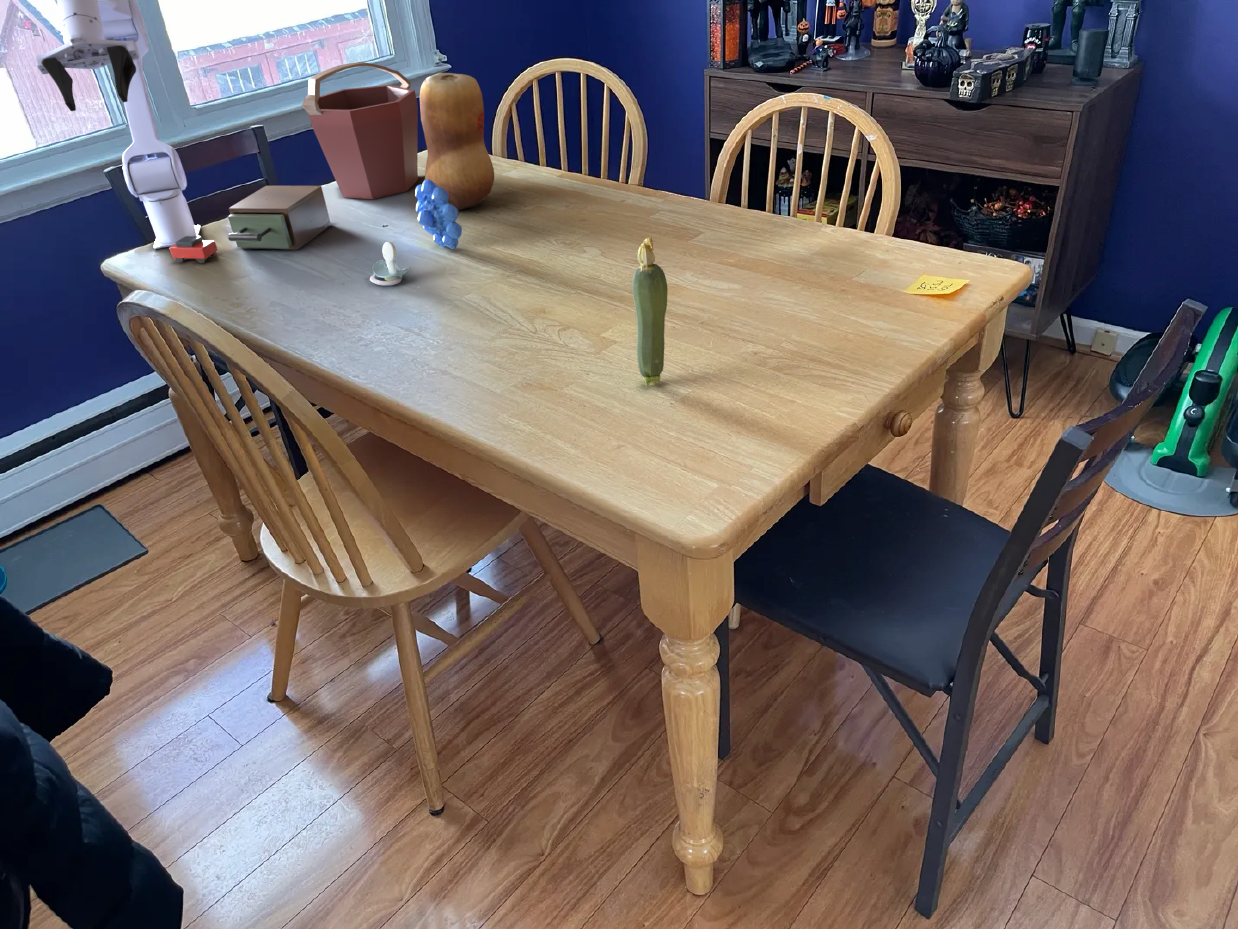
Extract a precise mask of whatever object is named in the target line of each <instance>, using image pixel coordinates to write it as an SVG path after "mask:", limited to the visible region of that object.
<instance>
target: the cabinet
mask: <svg viewBox="0 0 1238 929" xmlns="http://www.w3.org/2000/svg"><path fill="white" fill-rule="evenodd" d="M323 191H324V190H323V187H322V185H265V186H263V187H262V188H260V189H258V190H256V191H254V192H253V193H251V194H250V195H248V196H247V197H245V198H243V199H241V200H240V201H238V202H237V203H235V204H233V205H232V206H230V207H229V208H228V211H229V215H231V214H239V212H249V213H284V215H285V218H286V222H287V225H288V229H289V232H290V236H291V240H292V242H291V243H292V246H291V247H290V248H251V247H240V249H247V250H249V249H250V250H251V249H254V250H255V249H257V250H299V249H301V248H302V247H303V246H305V245H306V244H307V243H309V242H310V241H311V240H313V239H314V238H315V237H317V236H318V235H319V234H321V233H322V232H323V231H325V230H326V229H328V228H329V227H330V226H331V225H332V223H331V219H330V215H329V210H328V206H327V202H326V199H325V196H324V192H323Z"/></svg>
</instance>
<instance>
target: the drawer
mask: <svg viewBox="0 0 1238 929" xmlns="http://www.w3.org/2000/svg"><path fill="white" fill-rule="evenodd" d="M227 219H228V222H229V225H230V228H231V232H230V233H228V235H227V239H228V241H230V242H235V243H236V247H237V248H241V247H251V248H290V247H291V246H292V243H291V242H292V240H291V236H290V232H289V229H288V225H287V222H286V218H285V215H284V213H249V212H239V214H229V215H227Z"/></svg>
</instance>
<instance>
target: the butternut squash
mask: <svg viewBox="0 0 1238 929" xmlns="http://www.w3.org/2000/svg"><path fill="white" fill-rule="evenodd" d="M419 108H420V122H421V125H422V129H423V130H422V131H423V134H424V135H423V136H424V141H425V144H426V145H425V146H426V150H427V156H426V163H425V169H424V170H425V171H424V180H427V179H428V180H431V181H433V182H434V183H435V184H436V185H437V186H438V187H441V188H443V189H444V190H446V191H447V193H448V197H449V198H448V202H447V203H449V204H452V205H453V206H455V207H456V208H457V209H458V211H461V210H463V209H471V208H473V207H476V206H478V205H479V204H480V203H481V202H482V201H483V200H484V199H486V198H487V197H488V196H489V195H490V194H491V192H492V189H493V186H494V183H495V169H494V165H493V162H492V159H491V157H490V154H489V151H487V147H486V144H485V139H484V135H485V134H484V132H485V130H484V129H485V108H484V99H483V93H482V90H481V88H480V85H479V83H478V81H477V79H476V78H475V77H472V76H471V75H468V74H464V73H453V72H437V73H436V74H433V75H430V76H427V77H426V78H425V79H424V80H423V82H422V84H421V86H420V90H419Z"/></svg>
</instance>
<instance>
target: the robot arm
mask: <svg viewBox="0 0 1238 929" xmlns="http://www.w3.org/2000/svg"><path fill="white" fill-rule="evenodd" d="M54 2H55V4H56V6H57V8H58V9H57V10H58V14H59V19H60V25H61V30H62V35H63V42H64V44H62V45H60V46H58V47H56V48H53V49H52V50H50V51H47V52H45V53H42V54H38V55H35V56H34V58H35V64H36V67H37V69H38V71H40V73H41V74H42V75H49V76H50V77H51V79H52V80H53V82H54V83H55V85H56V86H57V89H58V91H59V92H60V94H61V96H62V98H63V102H64V104H65V105H66V107H67V108H68V110H69V111H70V112H76V111H77V107H76V102H75V98H74V93H73V85H74V84H73V83H74V79H73V78H72V76H71V74H70V73H69V72H68V71H67V69H76V70H77V69H78V70H97V69H101V68H103V67H105V66H108V65H111V68H112V71H113V77H114V84H115V89H116V94H117V95H118V97H119V98H120V100H121V101H122V103H123V106H124V109H125V114H126V118H127V121H128V126H129V132H130V135H131V140H132V143H131V144H130V145H129V147H127V148H126V149H125V151H124V152H123V153H122V155H121V156H122V158H121V161H122V172H123V178H124V182H125V183H126V186H127V189H128V191H129V192H130V194H131V195H132V196H134V197H135V198H139V201H140V202H143V206H144V209H145V211H146V214H147V216H148V219H149V222H150V225H151V227H152V230H153V232H154V235H155V241H154V244H153V249H155V250H157V249H163V248H170V247H171V246H173V245H175V244H176V243H175V242H177V241H179V240H180V239H182V238H184V237H185V236H200V231H201V228H202V227H201V225H200V224H197V225H195V223H194V220H193V217H192V213H191V211H190V210H191V209H190V208H189V205H188V202H187V199H186V197H185V196H184V194H183V191H185V190H186V188H187V187H188V182H187V176H186V174H185V170H184V167H183V164H182V162H181V159H180V155H179V154H178V152H177V151H176V149H175V148H174V147H173V146H171V145H170V144H167V143H164V142H163V141H161V140H160V137H159V133H158V129H157V125H156V121H155V116H154V113H153V109H152V105H151V101H150V96H149V93H148V92H149V91H148V88H147V84H146V80H145V76H144V68H143V57H144V56H145V55H147V53H149V51H150V48H149V43H150V42H149V39H148V35H147V30H146V25H145V23H144V20H143V15H142V13H141V10H140V7H139V5H138V3H137V1H136V0H54Z"/></svg>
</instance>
